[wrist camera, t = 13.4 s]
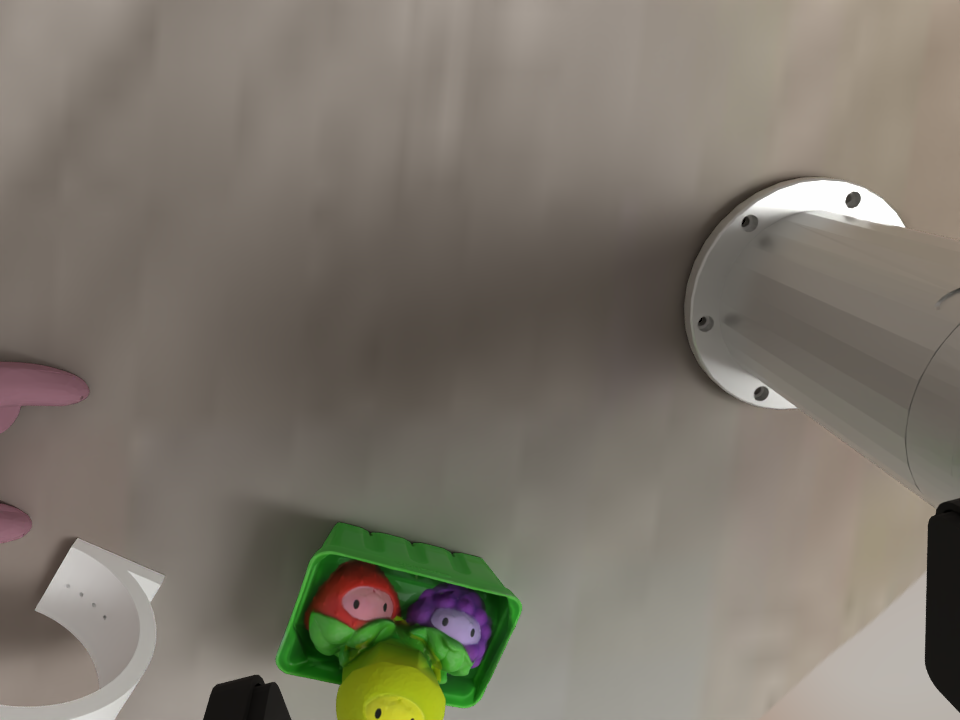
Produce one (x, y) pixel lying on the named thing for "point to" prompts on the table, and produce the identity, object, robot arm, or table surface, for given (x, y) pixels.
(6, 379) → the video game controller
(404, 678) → the fruit basket
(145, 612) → the headphone stand
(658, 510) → the table surface
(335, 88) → the table surface
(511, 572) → the table surface
